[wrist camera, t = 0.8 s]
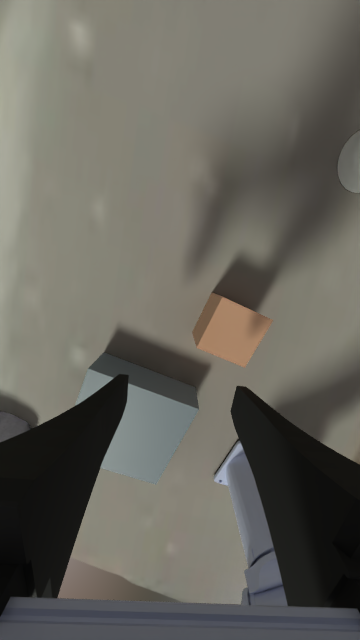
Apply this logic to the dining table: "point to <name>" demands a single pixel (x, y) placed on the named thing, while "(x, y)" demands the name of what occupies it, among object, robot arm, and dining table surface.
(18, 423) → the stone block
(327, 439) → the dining table surface
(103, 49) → the dining table surface
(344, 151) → the chalice
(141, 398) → the slate box
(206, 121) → the dining table surface
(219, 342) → the terracotta block
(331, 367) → the dining table surface
